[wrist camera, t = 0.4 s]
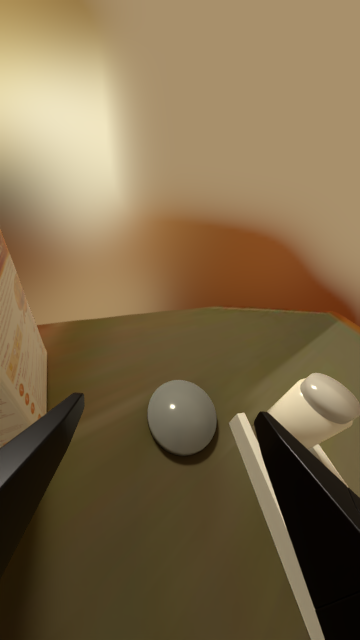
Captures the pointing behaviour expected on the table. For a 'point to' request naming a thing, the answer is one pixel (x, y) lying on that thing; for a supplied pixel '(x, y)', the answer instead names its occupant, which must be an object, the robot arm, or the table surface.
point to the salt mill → (315, 409)
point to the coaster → (181, 417)
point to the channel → (278, 515)
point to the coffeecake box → (18, 356)
